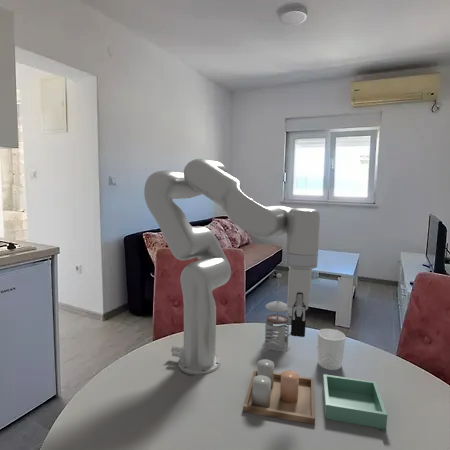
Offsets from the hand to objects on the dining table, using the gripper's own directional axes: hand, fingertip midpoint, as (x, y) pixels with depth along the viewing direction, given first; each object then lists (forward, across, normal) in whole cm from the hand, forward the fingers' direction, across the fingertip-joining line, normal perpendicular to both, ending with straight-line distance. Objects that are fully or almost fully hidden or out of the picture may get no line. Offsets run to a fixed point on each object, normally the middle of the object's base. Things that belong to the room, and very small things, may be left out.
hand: (297, 327), depth 83 cm
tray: (+19, +1, -3) cm, 19 cm away
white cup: (+19, -19, +10) cm, 29 cm away
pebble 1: (+18, -3, -8) cm, 20 cm away
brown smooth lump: (+18, +1, -1) cm, 18 cm away
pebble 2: (+18, +5, -8) cm, 21 cm away
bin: (+19, 0, +14) cm, 23 cm away
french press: (+19, -27, -6) cm, 34 cm away
